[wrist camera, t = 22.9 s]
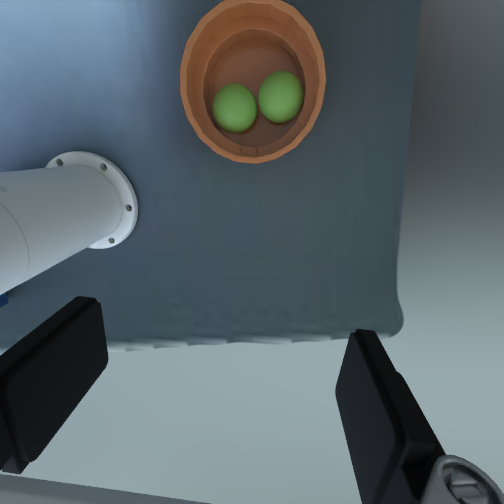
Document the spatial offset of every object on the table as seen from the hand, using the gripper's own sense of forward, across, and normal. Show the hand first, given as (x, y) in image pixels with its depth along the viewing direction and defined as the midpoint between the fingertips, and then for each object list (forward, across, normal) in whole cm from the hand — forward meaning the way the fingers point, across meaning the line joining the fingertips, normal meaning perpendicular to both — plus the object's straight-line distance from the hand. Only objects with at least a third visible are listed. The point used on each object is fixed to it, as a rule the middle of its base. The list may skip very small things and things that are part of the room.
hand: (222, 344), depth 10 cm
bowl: (+26, +2, -12) cm, 29 cm away
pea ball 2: (+23, -1, -12) cm, 26 cm away
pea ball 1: (+23, +3, -10) cm, 26 cm away
